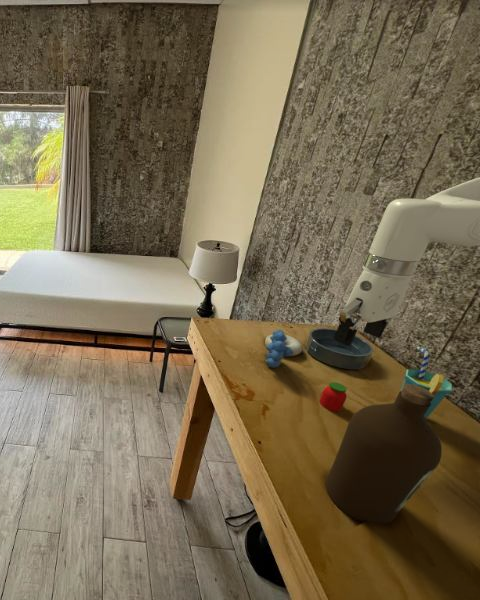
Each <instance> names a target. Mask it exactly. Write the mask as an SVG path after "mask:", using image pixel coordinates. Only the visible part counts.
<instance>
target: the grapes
mask: <svg viewBox="0 0 480 600" xmlns="http://www.w3.org/2000/svg"><path fill="white" fill-rule="evenodd" d="M272 334H273V335H272ZM271 335H272V336H271V337H270V339H271V340H272V343H270V344H269V345H268V346H266V345H265V347H266V350H267V353H266V354H265V357H266V360H265V363H266V365H267V366H268V367H269V368H277V367H279V366H281V362H280V361H282V360H283V359H284V357H291V356H290V355H292V354H293V351H292V349H291V348H290V347H288V346H286V344H285V342H284V341H285V340H286V339H287V338H286V336H285V335H286V333H285V332H284V331H283V330H282V329H277V330H275V331H273V332H272V333H271Z"/></svg>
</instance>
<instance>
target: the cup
mask: <svg viewBox="0 0 480 600" xmlns="http://www.w3.org/2000/svg"><path fill="white" fill-rule="evenodd" d="M416 350H418V351H419V352H420V353H422V354H423V360H422V363H421V367H420V369H406V371H405V375H404V380H403V384H402V386H401V389H400V391H402V389H403V387H404V386H405V385H407V384H411V385H416V386H420V387H422V388H424V389H426V390H428V391H430V392H431V393H432V394H433V395H434V398H433V400H432V401H431V402H430V403H431V406H430V407H429V409H428V410H427V412H426V413H425V415H424V417H425V419H426V420H427V419H428V418H429V417H430V415H431V414H432V413H433V412H434V410H435V409H436V408H437V407H438V406H439V405H440V403H441V402H442V401H443V399H444V398H445V397H446V396H447V395H450V394H451V393H452V392H453V383H452V382H450V381H449V380H447V379H446V378H444V375H443V374H440V373H433V372H431V371H427V367H428V364H429V361H430V360H429V359H430V352H429V351H428V350H426V349H425V348H423V347H421V346H417V347H416Z"/></svg>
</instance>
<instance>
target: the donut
mask: <svg viewBox="0 0 480 600" xmlns="http://www.w3.org/2000/svg"><path fill="white" fill-rule="evenodd" d="M272 335H273V334H272V333H271V334H269V335H268V336H266V338H265V340H264V344H265V347H266V346H268V345H269V344H270V343H272V340H271V339H270V337H271V336H272ZM285 336H286V338H287V339H286V340H285V341H284V342H285V344H286V346H288V347H290V348H291V349H292V351H293V354H292V355H290V356H289V357H295V356H298V355H300V354H301V353H302V352H303V345H302V343H301V342H300V341H299V340H298V339H297V338H295V337H293V336H290V335H287V334H285Z"/></svg>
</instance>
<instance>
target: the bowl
mask: <svg viewBox="0 0 480 600" xmlns="http://www.w3.org/2000/svg"><path fill="white" fill-rule="evenodd" d="M336 331H337V329H336V328H328V327H327V328H326V327H323V328H321V327H320V328H315V329H312V330H310V331H309V333H308V335H307V338H306V340H305V344H304V349H305V350H306V351H307V353H308V354H309V355H311V356H312V357H313V358H315V359H316V360H318V361H320V362H322V363H325V364H327V365H330V366H332V367H336V368H340V369H346V370H362V369H364V368H366V367H368V365H369V362H370V361H371V358H372V356H373V354H374V352H375V351H374V347H373V346H372V345H371V344H370V343H369V341H366V340H365V339H363V338H361V337H360V336H357V335H355V337H354V339H353V342H352V344H351V345H350V346H346V345H344V344H342V343H340V342H338V341H336V340H335V339H334V336H335V334H336Z"/></svg>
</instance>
